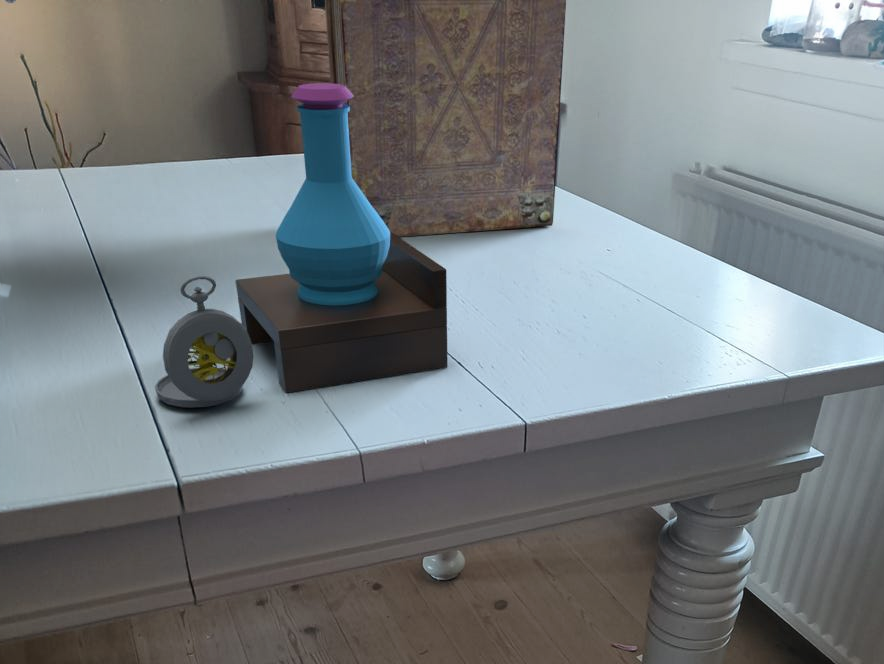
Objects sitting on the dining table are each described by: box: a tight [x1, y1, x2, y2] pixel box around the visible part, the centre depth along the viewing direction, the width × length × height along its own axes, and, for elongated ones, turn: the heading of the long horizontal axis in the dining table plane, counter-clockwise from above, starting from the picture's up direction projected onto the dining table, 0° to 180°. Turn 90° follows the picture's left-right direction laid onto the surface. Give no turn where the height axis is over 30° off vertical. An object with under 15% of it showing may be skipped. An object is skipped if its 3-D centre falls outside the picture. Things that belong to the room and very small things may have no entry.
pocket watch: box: [154, 275, 254, 409], centre depth 69 cm, size 8×8×10 cm
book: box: [324, 0, 567, 238], centre depth 107 cm, size 25×9×30 cm, turn 107°
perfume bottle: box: [275, 82, 390, 305], centre depth 73 cm, size 9×9×15 cm
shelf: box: [235, 232, 448, 394], centre depth 78 cm, size 14×14×8 cm
